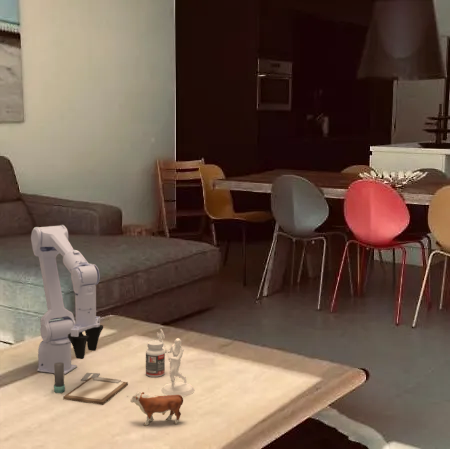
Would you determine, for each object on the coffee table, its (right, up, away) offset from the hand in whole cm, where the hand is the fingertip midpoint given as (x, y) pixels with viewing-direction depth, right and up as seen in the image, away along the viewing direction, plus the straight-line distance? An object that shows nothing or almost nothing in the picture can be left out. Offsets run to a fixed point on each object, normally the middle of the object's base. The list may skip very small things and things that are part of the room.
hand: (86, 354), depth 214 cm
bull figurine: (+22, -14, -22) cm, 34 cm away
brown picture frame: (+3, -10, -2) cm, 11 cm away
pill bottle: (+18, -9, +13) cm, 24 cm away
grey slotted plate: (-1, -9, +10) cm, 13 cm away
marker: (-7, -10, -2) cm, 13 cm away
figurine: (+26, -11, +1) cm, 28 cm away
